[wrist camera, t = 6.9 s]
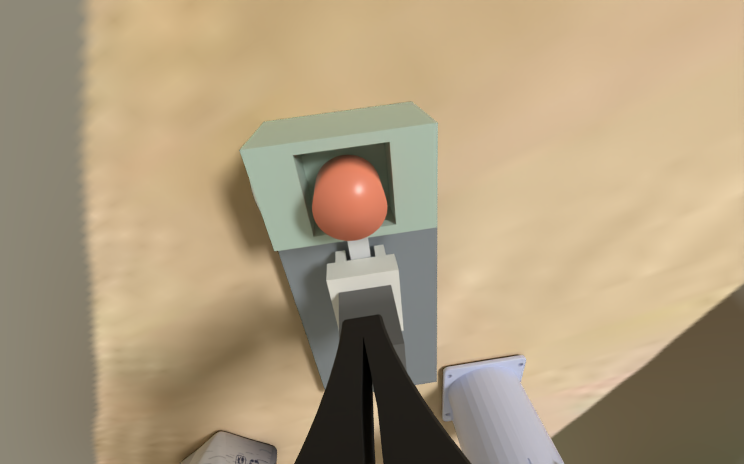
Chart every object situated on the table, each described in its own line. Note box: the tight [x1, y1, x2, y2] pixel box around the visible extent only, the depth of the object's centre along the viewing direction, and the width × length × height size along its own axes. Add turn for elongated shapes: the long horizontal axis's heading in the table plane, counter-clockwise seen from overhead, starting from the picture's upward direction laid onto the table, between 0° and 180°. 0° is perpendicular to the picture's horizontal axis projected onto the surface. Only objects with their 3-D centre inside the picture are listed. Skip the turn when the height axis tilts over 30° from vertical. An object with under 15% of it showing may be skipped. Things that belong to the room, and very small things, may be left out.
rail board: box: [278, 227, 437, 392], centre depth 23 cm, size 18×10×3 cm, turn 6°
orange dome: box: [312, 155, 387, 241], centre depth 13 cm, size 3×3×2 cm
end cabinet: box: [240, 102, 438, 251], centre depth 16 cm, size 5×8×5 cm, turn 96°
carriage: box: [326, 245, 407, 387], centre depth 18 cm, size 5×4×7 cm
